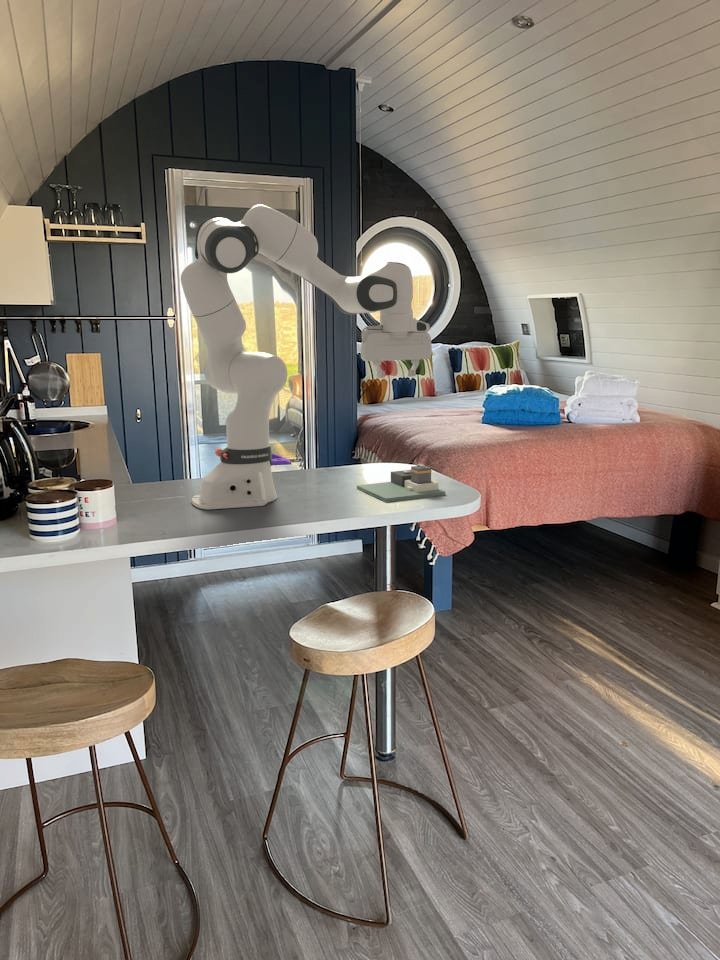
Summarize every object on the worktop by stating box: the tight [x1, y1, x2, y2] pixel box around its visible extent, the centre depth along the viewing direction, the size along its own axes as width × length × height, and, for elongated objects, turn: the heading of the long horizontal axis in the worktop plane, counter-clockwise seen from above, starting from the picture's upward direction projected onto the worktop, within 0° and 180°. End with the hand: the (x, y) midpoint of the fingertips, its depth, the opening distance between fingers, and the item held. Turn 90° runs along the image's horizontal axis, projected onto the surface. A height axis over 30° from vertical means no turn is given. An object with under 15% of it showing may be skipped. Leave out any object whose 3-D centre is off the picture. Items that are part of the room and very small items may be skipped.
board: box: [356, 481, 446, 503], centre depth 205 cm, size 18×18×1 cm
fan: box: [390, 469, 411, 487], centre depth 211 cm, size 7×7×3 cm
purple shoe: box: [272, 452, 292, 466], centre depth 246 cm, size 12×7×7 cm, turn 102°
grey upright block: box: [410, 463, 432, 484], centre depth 204 cm, size 4×4×7 cm
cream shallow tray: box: [405, 479, 439, 492], centre depth 204 cm, size 8×7×2 cm
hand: (396, 377), depth 203 cm, fingers open, 8 cm apart
